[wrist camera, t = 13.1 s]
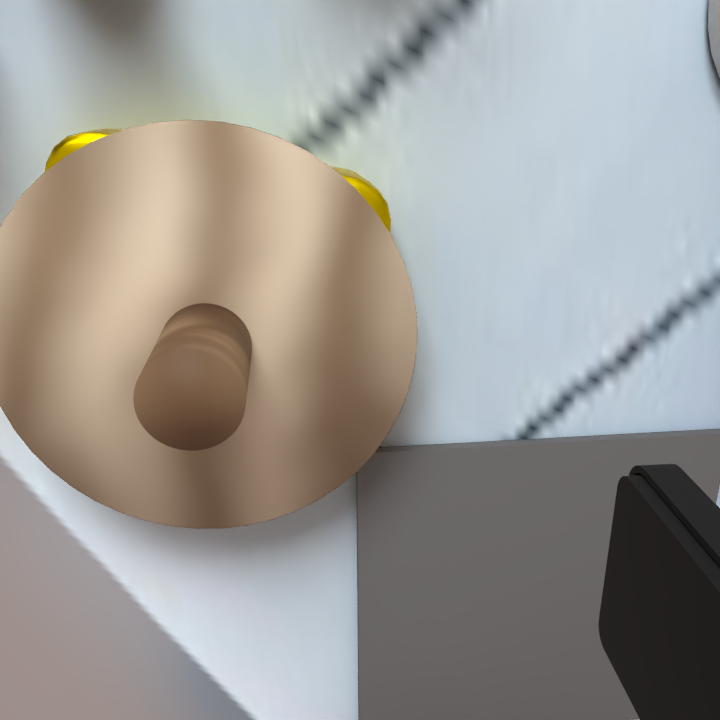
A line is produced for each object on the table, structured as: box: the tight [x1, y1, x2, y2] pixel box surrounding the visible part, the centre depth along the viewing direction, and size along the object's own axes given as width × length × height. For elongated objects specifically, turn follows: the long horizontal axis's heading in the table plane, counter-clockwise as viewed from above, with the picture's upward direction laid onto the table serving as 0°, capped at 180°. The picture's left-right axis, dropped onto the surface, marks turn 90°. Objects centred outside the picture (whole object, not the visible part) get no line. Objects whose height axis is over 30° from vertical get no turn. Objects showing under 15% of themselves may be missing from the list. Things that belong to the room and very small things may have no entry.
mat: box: [357, 429, 720, 720], centre depth 44 cm, size 22×22×1 cm
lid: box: [0, 120, 417, 528], centre depth 28 cm, size 19×19×7 cm
